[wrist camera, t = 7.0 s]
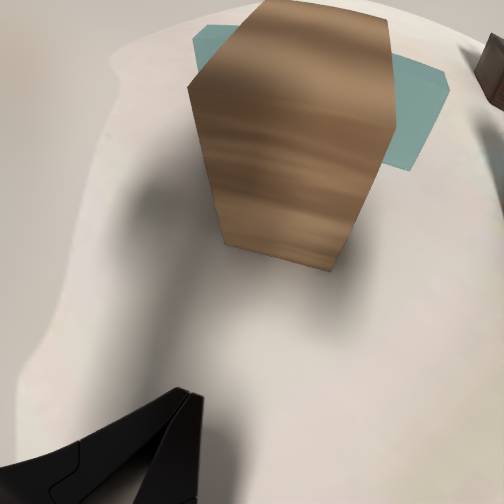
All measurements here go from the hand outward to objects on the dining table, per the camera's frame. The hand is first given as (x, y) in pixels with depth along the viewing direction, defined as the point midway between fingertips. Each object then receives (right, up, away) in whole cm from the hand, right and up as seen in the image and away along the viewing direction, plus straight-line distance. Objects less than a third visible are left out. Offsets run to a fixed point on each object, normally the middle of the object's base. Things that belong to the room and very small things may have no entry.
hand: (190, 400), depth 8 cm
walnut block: (+5, +9, +17) cm, 20 cm away
